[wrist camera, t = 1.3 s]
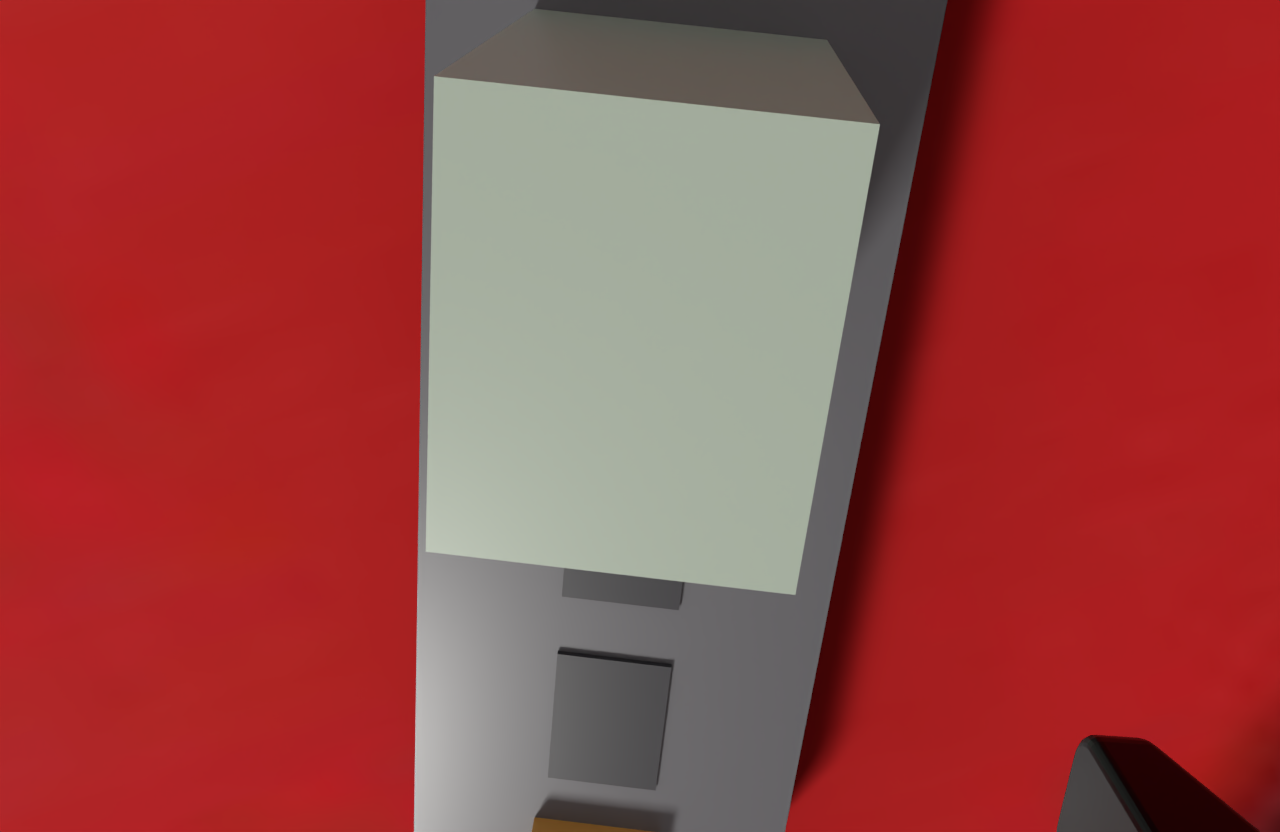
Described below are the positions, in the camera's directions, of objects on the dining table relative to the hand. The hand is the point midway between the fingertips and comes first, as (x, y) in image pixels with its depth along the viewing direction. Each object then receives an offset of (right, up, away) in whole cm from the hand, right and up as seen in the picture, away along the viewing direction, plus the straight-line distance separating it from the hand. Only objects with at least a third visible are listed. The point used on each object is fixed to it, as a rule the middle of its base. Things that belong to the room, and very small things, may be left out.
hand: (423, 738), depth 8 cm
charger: (+2, +6, +11) cm, 12 cm away
